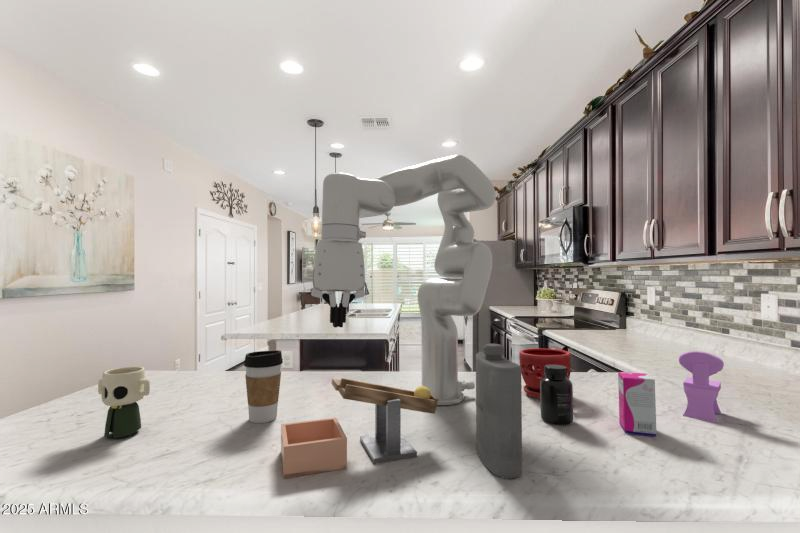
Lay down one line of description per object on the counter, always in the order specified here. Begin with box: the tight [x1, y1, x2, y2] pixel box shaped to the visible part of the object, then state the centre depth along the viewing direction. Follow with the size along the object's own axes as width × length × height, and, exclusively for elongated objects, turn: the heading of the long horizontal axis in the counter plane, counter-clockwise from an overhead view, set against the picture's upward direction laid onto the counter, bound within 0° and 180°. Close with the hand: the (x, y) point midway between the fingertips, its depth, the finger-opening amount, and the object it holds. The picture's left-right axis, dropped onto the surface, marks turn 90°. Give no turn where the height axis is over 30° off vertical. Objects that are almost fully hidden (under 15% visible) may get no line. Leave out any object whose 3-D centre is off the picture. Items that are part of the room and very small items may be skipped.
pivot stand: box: [359, 399, 418, 464], centre depth 74 cm, size 8×10×10 cm
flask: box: [475, 343, 523, 480], centre depth 70 cm, size 15×6×20 cm, turn 2°
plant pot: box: [518, 347, 572, 400], centre depth 106 cm, size 13×13×12 cm
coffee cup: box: [243, 349, 284, 424], centre depth 89 cm, size 8×8×15 cm
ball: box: [414, 385, 431, 399], centre depth 76 cm, size 3×3×3 cm
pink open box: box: [280, 417, 348, 479], centre depth 69 cm, size 10×10×5 cm
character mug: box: [97, 366, 151, 438], centre depth 80 cm, size 11×7×13 cm, turn 86°
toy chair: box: [678, 350, 725, 424], centre depth 92 cm, size 8×9×15 cm
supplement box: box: [617, 371, 657, 438], centre depth 82 cm, size 6×6×12 cm
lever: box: [331, 377, 438, 415], centre depth 76 cm, size 18×10×3 cm, turn 109°
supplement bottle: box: [539, 365, 574, 426], centre depth 88 cm, size 7×7×12 cm
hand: (337, 326), depth 79 cm, fingers closed
